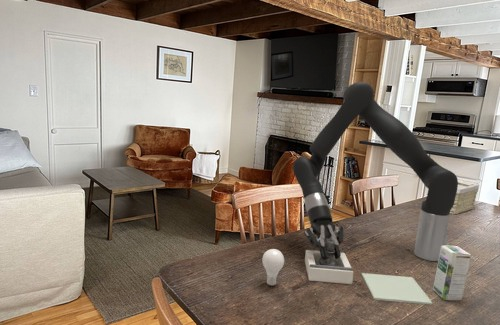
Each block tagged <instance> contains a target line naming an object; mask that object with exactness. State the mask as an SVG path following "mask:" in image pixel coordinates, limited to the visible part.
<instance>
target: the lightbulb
mask: <svg viewBox="0 0 500 325" xmlns="http://www.w3.org/2000/svg"><path fill="white" fill-rule="evenodd" d="M261 261H262V265H263V267H264V269H265V272H266V275H267V278H266V284H267V285H268V286H275V285H276V284H277V277H278V274H279V272H280V271H281V269H282V268H283V267H284V264H285V257H284V255H283V253H282V252H281V251H280V250H279V249H276V248H270V249H268V250H267V251H265V252H264V253H263V255H262V260H261Z"/></svg>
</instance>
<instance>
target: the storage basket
mask: <svg viewBox="0 0 500 325" xmlns="http://www.w3.org/2000/svg"><path fill="white" fill-rule="evenodd" d="M458 185H459V186H463V187H458V188H457V193H456V197H455V201H454V205H453V207H452V209H451V210H450V213H452V214H451V215H458V214H461V213H463V212H467V211H470V210H472V209H474V206H475V201H476V198H477V195H478V192H479V188H480V185H479V183H474V182H472V181H471V182H470V181H465V180H461V179H458Z"/></svg>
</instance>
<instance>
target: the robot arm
mask: <svg viewBox="0 0 500 325" xmlns="http://www.w3.org/2000/svg"><path fill="white" fill-rule="evenodd" d="M374 93H375V92H374V89H373V86H371V84H369V83H368V82H365V81H357V82H354V83H352V84H350V85H348V86H347V87H346V88H345V90H344V92H343V98H342V99H343V102H342V103H341V105H340V107H339V109H338V110H337V111H336V113H335V115H333V117H332V118H331V119H330V121H328V122H327V124H326V125H325V126H324V127H323V128H322V130H320V132H319V133H318V135H317V136H316V138H315V139H314V140H313V142H312V143H311V145H310V146H309V151H310V152H311V155H310V158H308V157H306V156H298V157H297V158H296V159H295V160H294V161H293V163H292V171H293V175H294V176H295V179H296V181H297V183H298V185H299V187H300V189H301V191H302V195H303V199H304V206H305V210H306V213H307V216H308V221H309V224H310V228H306V230H304V235H305V237H306V238H307V240H308V242H309V244H310V245H311V246H312V247H313V248H317V249H318V251H320V254H321V257H322V258H323V260H327V259H328V254H327V251H326V247H325V239H326V240H327V239H330V237H332V238H331V239H332V240H334V241H335V246H334V250H335V252H334V256H335V259H338V258H340V256H341V253H342V252H341V250H340V245H341V244H343V242H344V226H336V224H335V223H334V221H333V216H332V213H331V210H330V207H329V206H330V205H329V203H328V200H327V198H326V196H325V193H324V189H323V187H322V183H321V182H320V181H319V180H318V179H317V177H318V176H319V175H320V173H321V172H322V170H323V167H324V166H325V161H326V160H327V157H328V156H329V155H330V153H331V151H332V150H333V149H334V147H335V146H336V145H337V143H338V141H339V140H340V139H341V137H342V136H343V134H345V132H346V130H347V129H348V128H349V126H350V125H351V124H352V123H353V122H354V120H355V119H356V118H357V117H358V116H359V117H360V118H361V119H362V120H364V122H365V123H366V124H367V125H368V126H369V127H370V128H371V129H372V131H373V132H374V133H375V134H376V136H377V137H378V138H379V139H380V140H381V141H382V142H383V143H384V144H385V146H387V148H389V149H390V151H391V152H392V153H394V154H395V155H396V156H397V157H398V158H399V159H400V160H401V161H403V162H404V163H405V164H407V165H408V167H410V168H411V170H413V171H414V173H415V174H416V175H417V177H418V178H419V179H420V181H421V182H422V183H423V185H424V186H425V187H426V189H428V191H427V194H426V199H425V200H424V201H422V202H421V206H420V213H419V218H418V226H417V231H416V232H417V233H416V237H415V244H414V250H413V254H414V255H415V256H416V257H418V258H420V259H422V260H425V261H430V262H438V260H439V255H440V250H441V246H445V245H448V241H449V234H447V230H448V225H449V219H450V210H451V209H452V207H453V205H454V201H455V197H456V193H457V188H459V186H458V180H459V178H458V176H457V175H456V173H454V172H452V171H451V170H449V169H447V168H445V167H443V166H441V165H440V164H438V162H437V161H435V160H434V159H433V158H432V157H431V156H430V155H429V154H427V152H426V150H425V149H424V147H423V146H422V144H421V142H420V140H419V139H418V137H417V136H416V135H415V134H414V133H413V132H412V130H410V129H409V127H407V125H406V124H404V123H403V122H402V121H401V120H399V119H398V118H397V117H395V116H394V115H392V114H391V113H390V112H388V111H387V110H385V109H384V108H383V107H382V106H380V105H379V104H378V102H377V101H376V100H375V99H374V96H375V94H374Z"/></svg>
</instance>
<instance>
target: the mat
mask: <svg viewBox="0 0 500 325" xmlns="http://www.w3.org/2000/svg"><path fill="white" fill-rule="evenodd" d="M361 277H362V279H363V281H364V283H365V285H366V286H367V288H368V291H369V292H370V294H371V296H372V298H373V300H374V301H386V302H396V303H408V304H418V305H431V306H432V305H433V302H432V300H431V298H430V297H429V296H428V295H427V293H425V291H424V290H423V289H422V288H421V286H420V285H419V284H418V283H417V281H416V280H415V278H414V277H412V276H411V277H410V276H403V275H402V276H398V275H388V274H377V273H367V272H366V273H365V272H361Z"/></svg>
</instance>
